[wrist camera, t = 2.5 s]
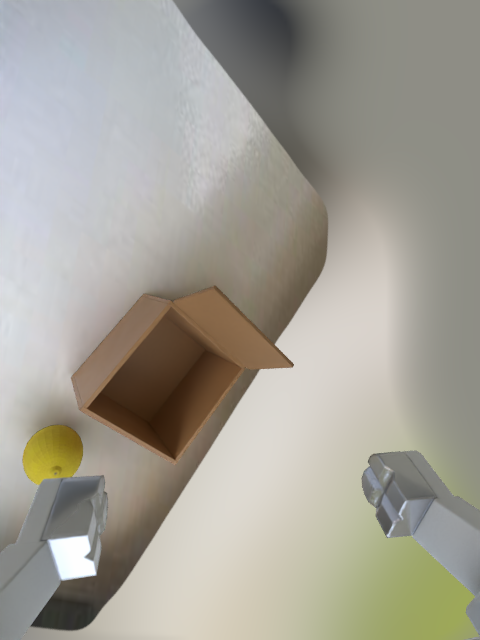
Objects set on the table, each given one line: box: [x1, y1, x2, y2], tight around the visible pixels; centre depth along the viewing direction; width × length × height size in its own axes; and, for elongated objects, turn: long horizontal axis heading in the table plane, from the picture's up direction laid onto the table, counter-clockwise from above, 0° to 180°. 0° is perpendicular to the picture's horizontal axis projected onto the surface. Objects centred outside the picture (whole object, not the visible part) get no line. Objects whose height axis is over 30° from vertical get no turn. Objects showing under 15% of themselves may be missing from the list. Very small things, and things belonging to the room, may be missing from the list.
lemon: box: [23, 425, 83, 485], centre depth 35 cm, size 6×6×8 cm
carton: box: [71, 294, 246, 465], centre depth 38 cm, size 12×13×10 cm
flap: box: [173, 286, 294, 370], centre depth 33 cm, size 12×6×1 cm
